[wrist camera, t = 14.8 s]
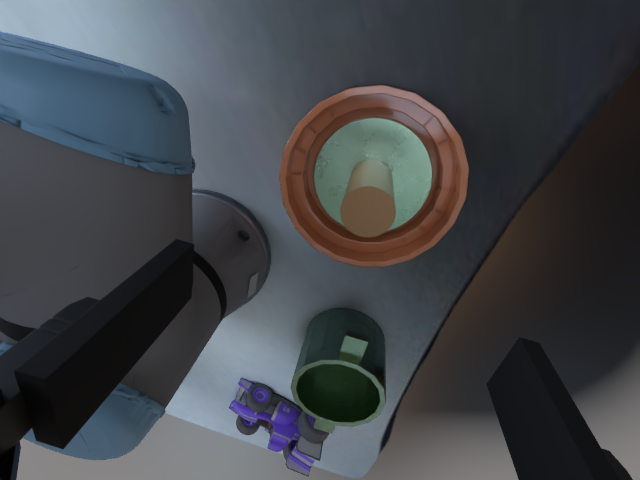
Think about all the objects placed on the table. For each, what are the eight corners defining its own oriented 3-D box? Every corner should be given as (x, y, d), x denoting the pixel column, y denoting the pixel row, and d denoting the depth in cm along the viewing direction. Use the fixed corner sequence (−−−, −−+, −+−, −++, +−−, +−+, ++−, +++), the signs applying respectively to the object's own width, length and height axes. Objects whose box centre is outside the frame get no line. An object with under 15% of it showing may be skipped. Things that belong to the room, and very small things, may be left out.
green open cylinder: (296, 368, 47) (280, 424, 40) (320, 281, 40) (305, 329, 32) (366, 389, 47) (363, 449, 39) (402, 304, 39) (407, 359, 32)
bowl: (280, 223, 37) (268, 241, 33) (309, 64, 30) (297, 63, 26) (421, 262, 36) (425, 285, 33) (487, 109, 29) (504, 115, 25)
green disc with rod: (305, 211, 35) (280, 255, 27) (330, 102, 30) (310, 113, 22) (406, 240, 35) (414, 294, 26) (450, 134, 30) (478, 159, 21)
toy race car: (243, 371, 49) (225, 410, 44) (336, 409, 50) (329, 452, 44) (229, 407, 54) (211, 447, 48) (314, 442, 54) (306, 485, 48)
